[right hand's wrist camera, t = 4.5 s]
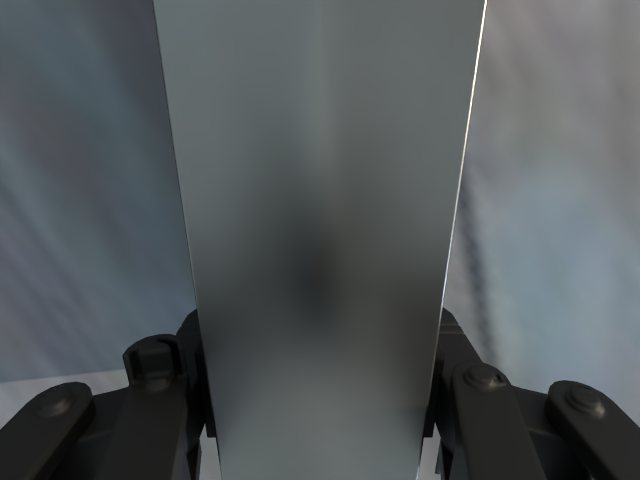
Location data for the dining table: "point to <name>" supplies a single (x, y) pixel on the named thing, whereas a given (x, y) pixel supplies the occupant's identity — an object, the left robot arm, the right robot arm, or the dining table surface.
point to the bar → (319, 218)
